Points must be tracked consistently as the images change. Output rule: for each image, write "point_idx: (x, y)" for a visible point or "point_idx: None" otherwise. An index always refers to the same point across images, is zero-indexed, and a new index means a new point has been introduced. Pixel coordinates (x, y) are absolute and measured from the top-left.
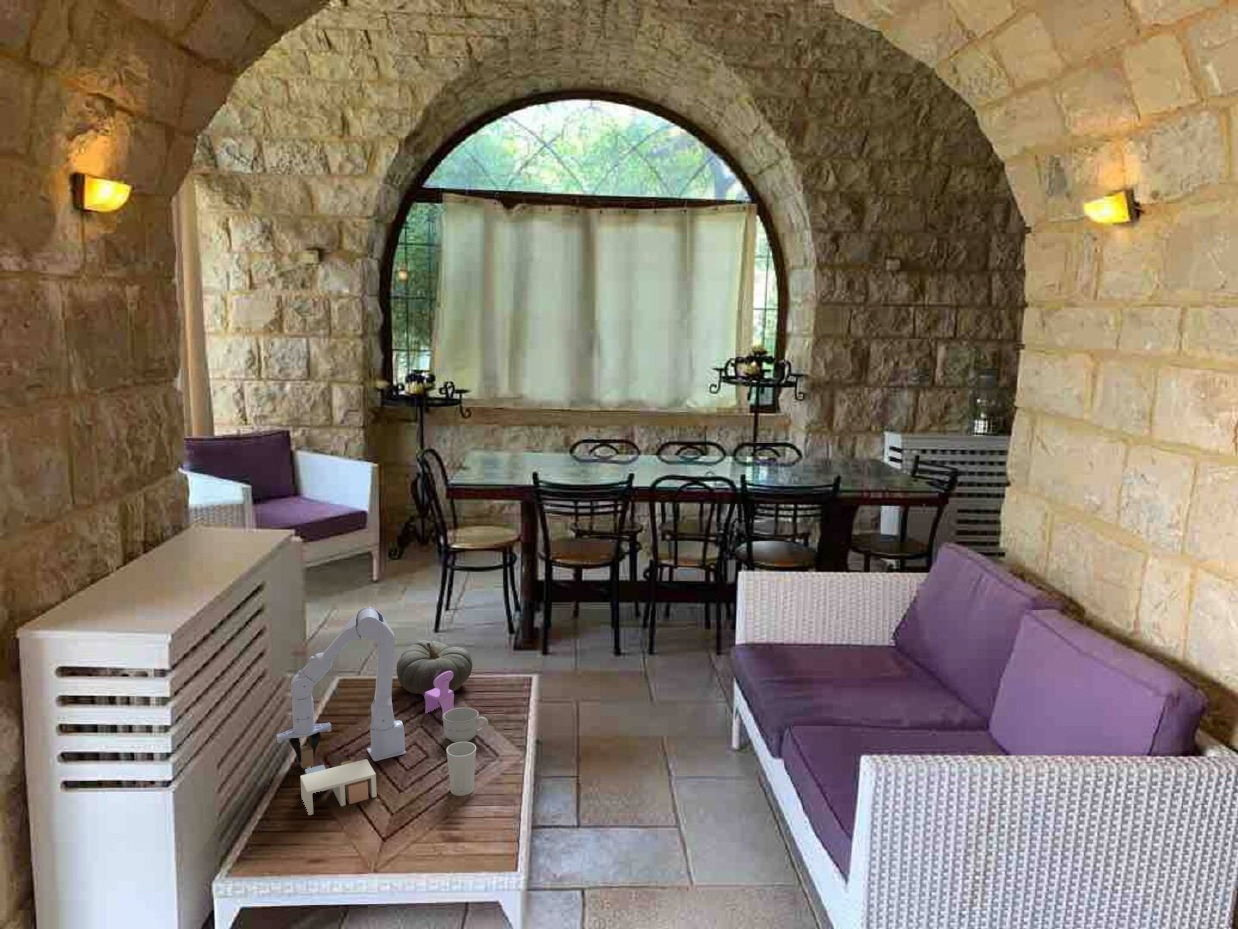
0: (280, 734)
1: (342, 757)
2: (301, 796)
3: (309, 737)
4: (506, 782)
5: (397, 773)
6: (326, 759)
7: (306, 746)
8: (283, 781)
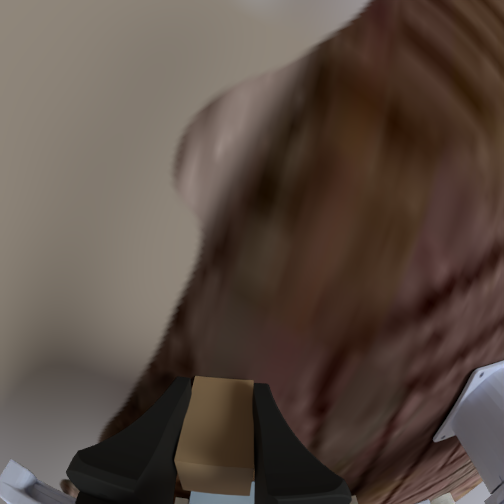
0: (13, 500)
1: (391, 389)
2: (175, 502)
3: (263, 478)
4: (471, 487)
5: (420, 477)
6: (330, 381)
7: (221, 471)
8: (120, 427)
